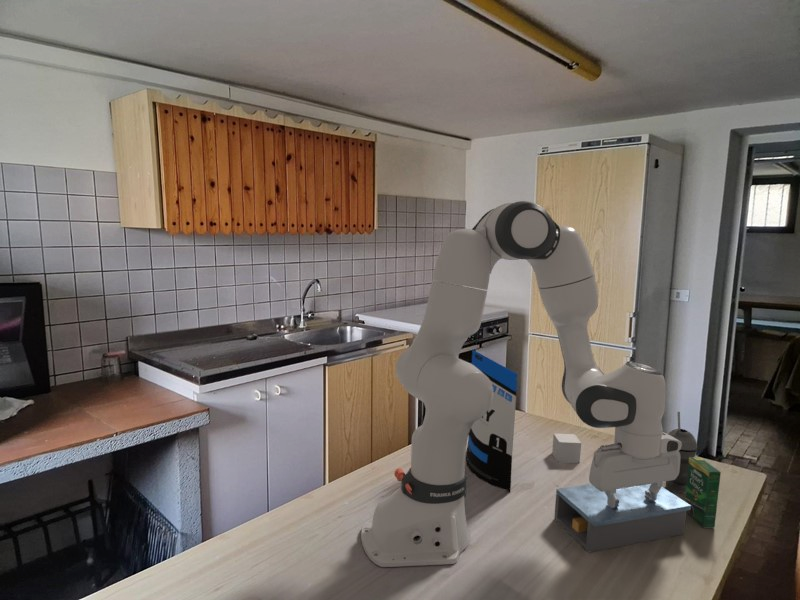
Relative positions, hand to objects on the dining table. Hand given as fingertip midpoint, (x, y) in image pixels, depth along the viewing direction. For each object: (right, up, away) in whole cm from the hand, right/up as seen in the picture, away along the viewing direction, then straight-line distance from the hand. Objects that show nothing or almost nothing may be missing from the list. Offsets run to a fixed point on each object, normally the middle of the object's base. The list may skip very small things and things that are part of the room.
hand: (631, 503), depth 107 cm
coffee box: (+19, -7, +8) cm, 22 cm away
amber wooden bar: (-1, -7, +4) cm, 8 cm away
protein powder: (-26, -3, +29) cm, 38 cm away
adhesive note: (-2, -2, +37) cm, 37 cm away
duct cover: (-1, -1, +3) cm, 3 cm away
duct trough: (-1, -7, +4) cm, 8 cm away
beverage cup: (+21, -5, +21) cm, 30 cm away
